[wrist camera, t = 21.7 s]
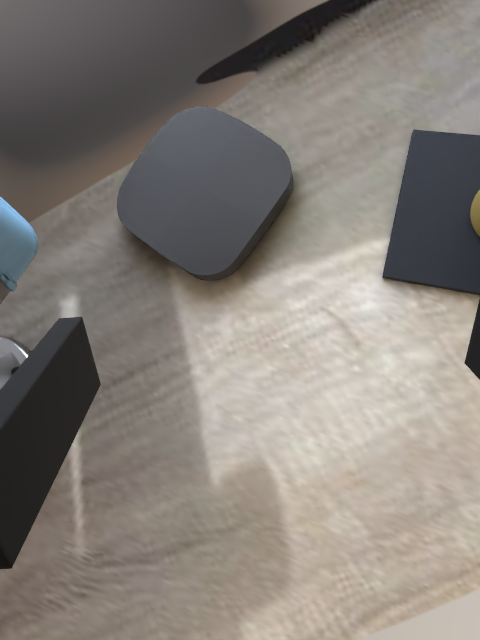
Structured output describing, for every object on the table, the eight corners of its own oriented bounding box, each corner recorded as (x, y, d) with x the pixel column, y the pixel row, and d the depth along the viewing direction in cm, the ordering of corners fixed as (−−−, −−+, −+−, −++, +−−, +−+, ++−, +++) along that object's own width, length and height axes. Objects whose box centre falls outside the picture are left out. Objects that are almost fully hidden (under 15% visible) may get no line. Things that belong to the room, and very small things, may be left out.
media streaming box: (309, 173, 39) (308, 156, 36) (220, 297, 39) (212, 289, 36) (194, 108, 43) (184, 88, 40) (113, 221, 43) (98, 209, 40)
